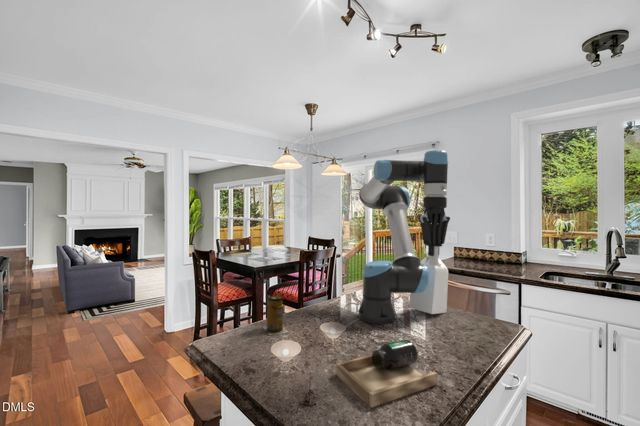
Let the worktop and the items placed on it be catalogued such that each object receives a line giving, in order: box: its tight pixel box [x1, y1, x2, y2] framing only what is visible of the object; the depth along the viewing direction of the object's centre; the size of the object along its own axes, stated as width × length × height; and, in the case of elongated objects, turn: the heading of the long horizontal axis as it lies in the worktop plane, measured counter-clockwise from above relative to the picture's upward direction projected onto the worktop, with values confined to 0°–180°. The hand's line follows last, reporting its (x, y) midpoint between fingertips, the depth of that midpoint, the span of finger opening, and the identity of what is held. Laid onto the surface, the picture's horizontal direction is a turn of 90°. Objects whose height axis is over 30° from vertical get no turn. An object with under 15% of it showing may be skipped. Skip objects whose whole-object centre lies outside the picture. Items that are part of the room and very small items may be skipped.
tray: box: [335, 354, 438, 408], centre depth 84 cm, size 21×16×3 cm
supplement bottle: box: [371, 339, 419, 371], centre depth 89 cm, size 7×7×12 cm
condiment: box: [262, 295, 289, 336], centre depth 116 cm, size 7×8×12 cm
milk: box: [407, 252, 449, 315], centre depth 140 cm, size 12×12×26 cm
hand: (433, 265), depth 108 cm, fingers closed
